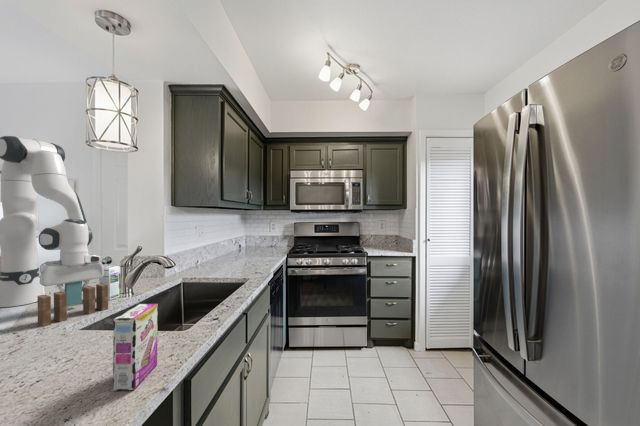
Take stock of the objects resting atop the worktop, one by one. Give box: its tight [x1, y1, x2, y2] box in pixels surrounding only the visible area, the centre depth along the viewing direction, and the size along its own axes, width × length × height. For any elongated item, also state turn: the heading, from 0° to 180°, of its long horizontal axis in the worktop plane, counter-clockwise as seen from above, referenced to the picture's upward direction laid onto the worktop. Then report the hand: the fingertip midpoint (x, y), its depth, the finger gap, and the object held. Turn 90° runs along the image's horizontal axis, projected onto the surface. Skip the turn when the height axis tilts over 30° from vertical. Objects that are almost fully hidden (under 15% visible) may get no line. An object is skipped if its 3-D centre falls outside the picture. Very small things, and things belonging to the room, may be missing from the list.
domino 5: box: [95, 283, 109, 312], centre depth 119 cm, size 2×5×10 cm, turn 61°
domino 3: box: [64, 281, 83, 307], centre depth 118 cm, size 2×5×10 cm, turn 149°
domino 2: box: [53, 290, 68, 323], centre depth 107 cm, size 2×5×10 cm, turn 61°
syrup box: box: [98, 265, 122, 301], centre depth 133 cm, size 6×6×14 cm
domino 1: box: [37, 293, 52, 327], centre depth 103 cm, size 2×5×10 cm, turn 61°
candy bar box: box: [112, 303, 159, 392], centre depth 70 cm, size 11×5×16 cm, turn 5°
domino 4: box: [82, 285, 96, 315], centre depth 115 cm, size 2×5×10 cm, turn 61°
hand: (73, 292), depth 118 cm, fingers closed on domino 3, 5 cm apart
